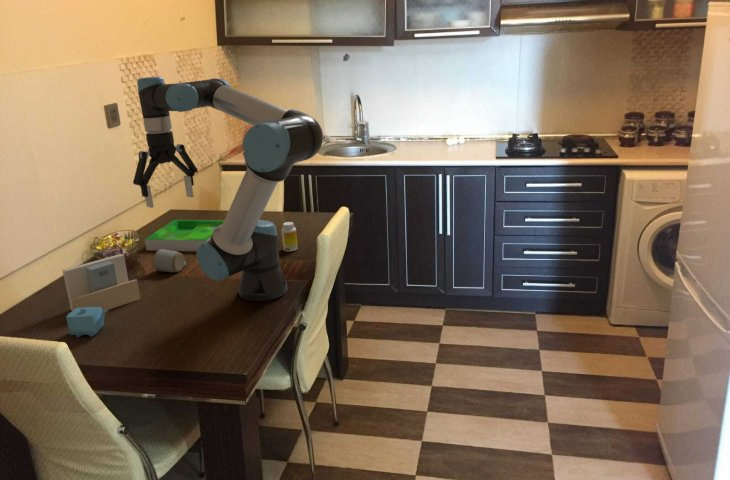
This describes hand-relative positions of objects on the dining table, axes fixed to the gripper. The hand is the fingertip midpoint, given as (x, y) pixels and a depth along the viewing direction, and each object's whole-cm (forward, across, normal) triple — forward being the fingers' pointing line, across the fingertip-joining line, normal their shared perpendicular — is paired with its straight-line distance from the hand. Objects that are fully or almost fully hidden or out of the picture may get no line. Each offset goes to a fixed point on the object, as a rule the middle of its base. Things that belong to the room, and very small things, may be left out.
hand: (170, 201), depth 188 cm
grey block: (+26, +20, -12) cm, 35 cm away
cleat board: (+29, +20, -13) cm, 38 cm away
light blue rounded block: (+30, +32, +3) cm, 44 cm away
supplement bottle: (+30, -47, -4) cm, 56 cm away
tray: (+29, -30, -45) cm, 62 cm away
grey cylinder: (+29, -8, -22) cm, 38 cm away
